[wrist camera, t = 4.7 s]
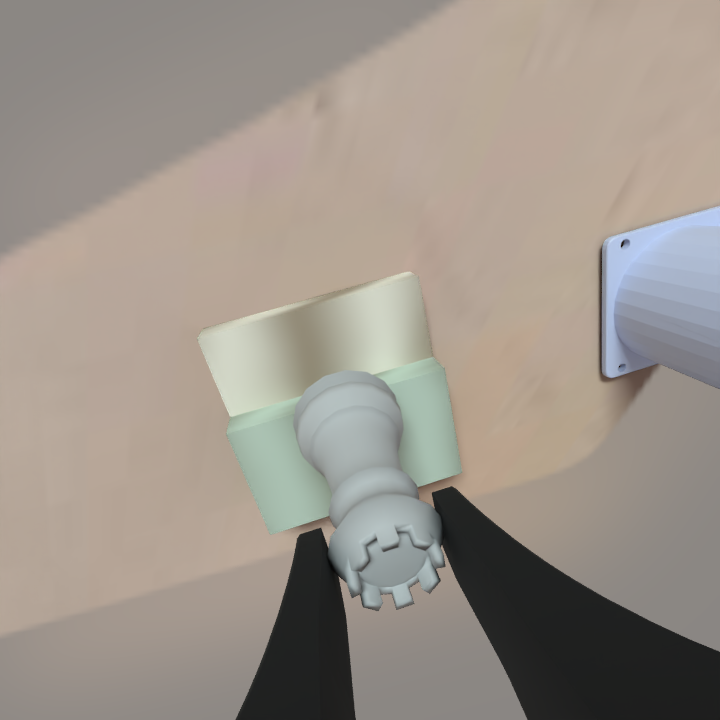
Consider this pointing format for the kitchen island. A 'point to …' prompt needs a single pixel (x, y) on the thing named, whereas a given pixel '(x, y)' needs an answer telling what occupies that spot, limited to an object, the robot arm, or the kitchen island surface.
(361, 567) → the rook chess piece
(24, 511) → the kitchen island surface
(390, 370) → the stepped riser
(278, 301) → the kitchen island surface
